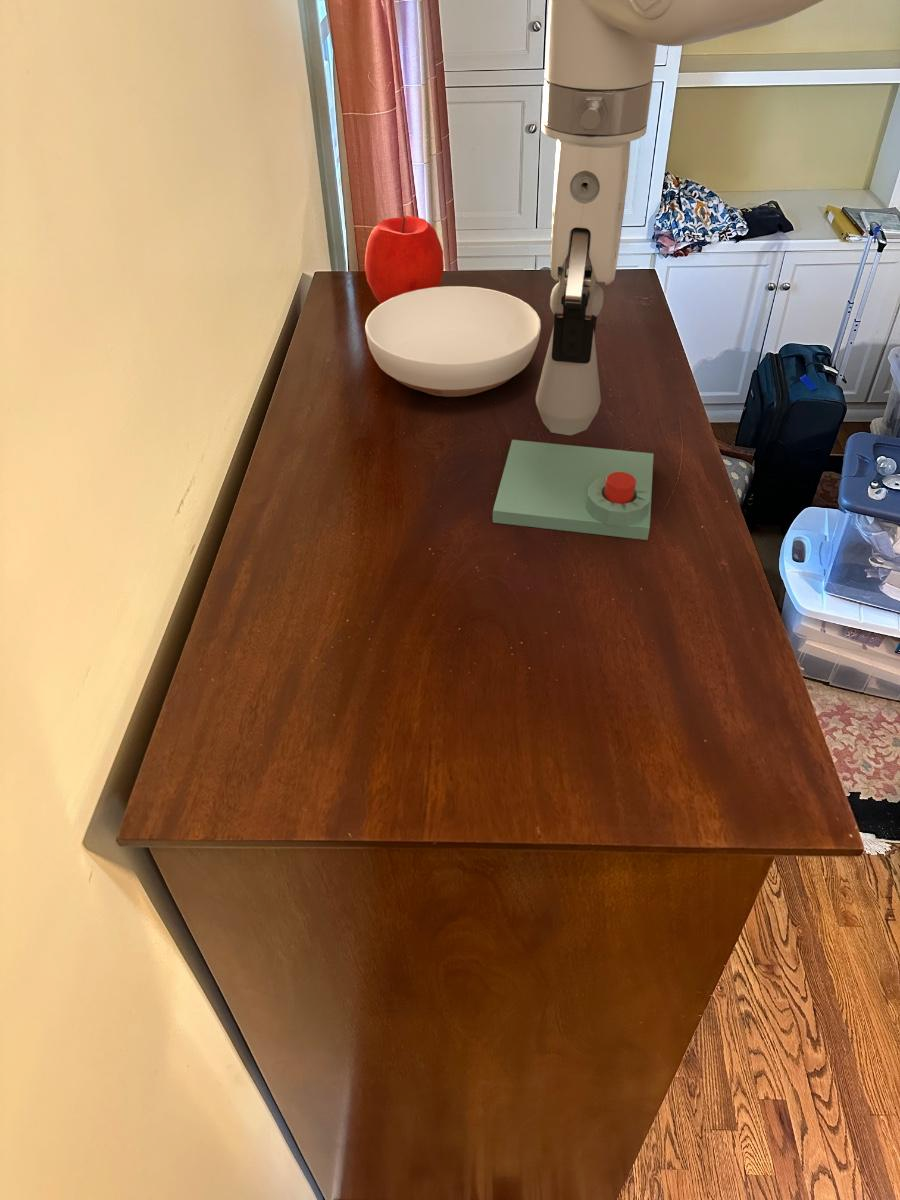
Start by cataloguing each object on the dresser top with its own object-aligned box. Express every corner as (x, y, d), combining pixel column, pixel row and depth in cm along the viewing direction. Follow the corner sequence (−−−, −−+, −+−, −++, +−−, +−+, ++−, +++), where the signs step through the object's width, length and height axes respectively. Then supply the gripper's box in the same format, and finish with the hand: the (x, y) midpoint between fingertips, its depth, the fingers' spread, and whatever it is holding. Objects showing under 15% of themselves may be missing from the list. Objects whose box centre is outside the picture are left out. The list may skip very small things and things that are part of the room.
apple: (409, 339, 106) (404, 238, 97) (351, 317, 110) (342, 219, 102) (460, 311, 111) (459, 213, 103) (403, 292, 116) (398, 197, 108)
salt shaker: (597, 408, 81) (613, 270, 72) (599, 441, 77) (616, 300, 68) (534, 405, 81) (543, 269, 72) (533, 438, 77) (541, 297, 68)
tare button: (634, 489, 78) (636, 473, 77) (632, 506, 76) (635, 490, 75) (605, 486, 78) (607, 470, 77) (603, 503, 76) (605, 486, 75)
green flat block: (651, 465, 85) (656, 439, 83) (647, 542, 76) (652, 515, 74) (511, 451, 87) (512, 425, 85) (492, 524, 79) (492, 497, 77)
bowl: (337, 365, 101) (331, 315, 97) (468, 320, 109) (468, 272, 105) (434, 436, 90) (433, 383, 85) (573, 379, 98) (578, 328, 94)
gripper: (644, 144, 55) (611, 400, 67) (652, 81, 67) (623, 308, 79) (527, 139, 56) (516, 391, 68) (555, 78, 68) (541, 302, 80)
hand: (573, 344), depth 74 cm, fingers closed on salt shaker, 4 cm apart
